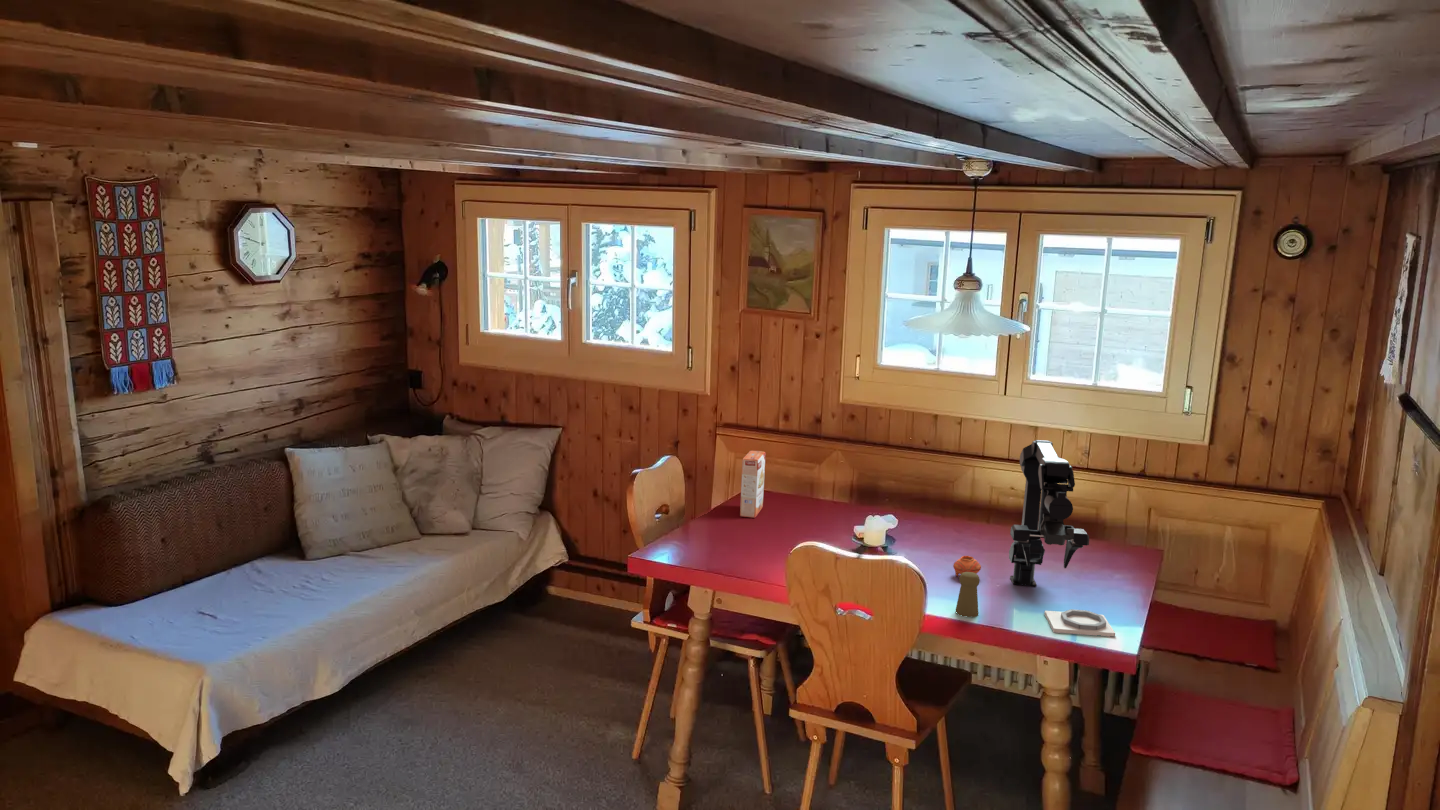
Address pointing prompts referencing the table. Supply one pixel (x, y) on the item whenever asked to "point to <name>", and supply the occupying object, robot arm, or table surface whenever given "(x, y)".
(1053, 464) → the robot arm
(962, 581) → the olive brown pawn
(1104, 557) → the table surface
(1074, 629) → the socket tray
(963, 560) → the pot
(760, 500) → the cracker box
